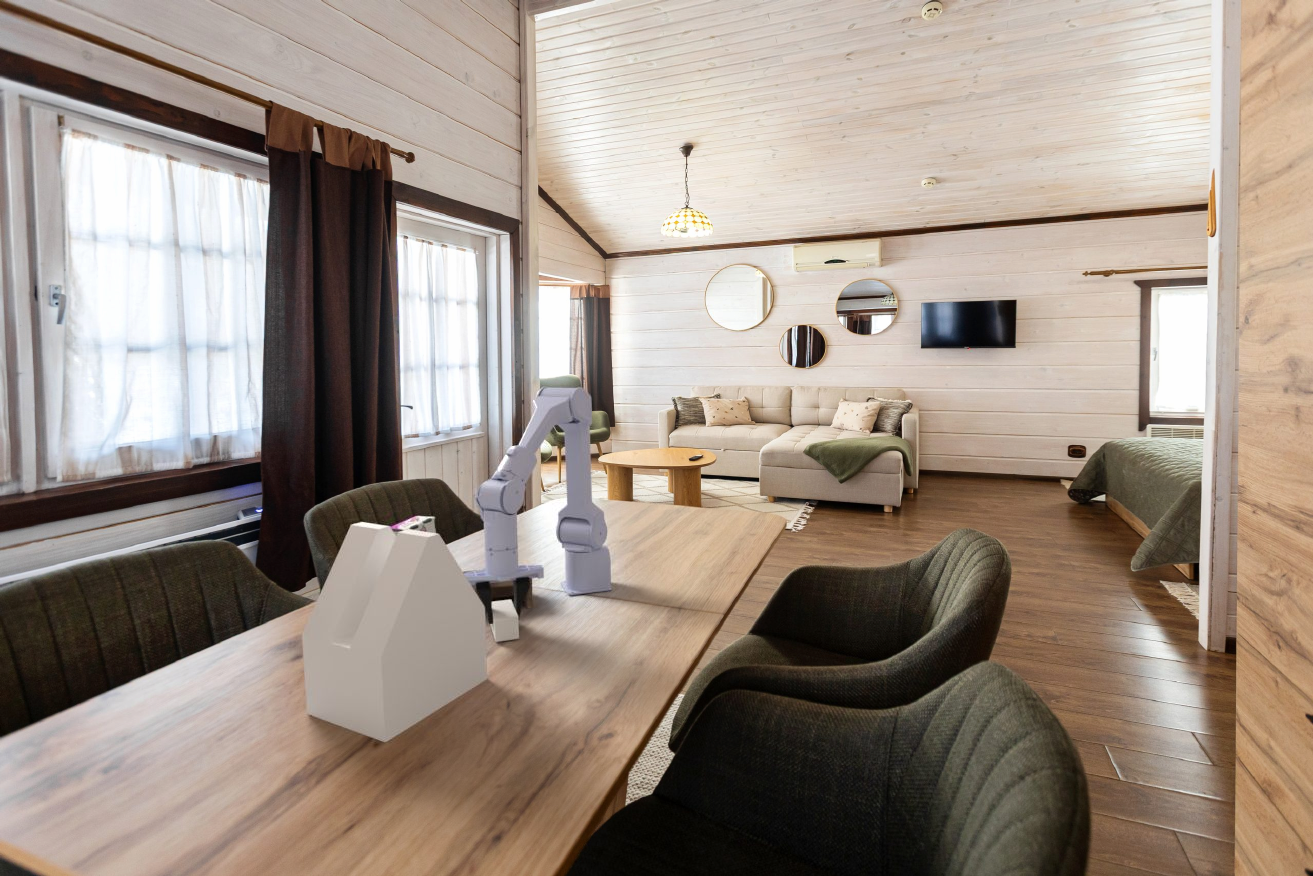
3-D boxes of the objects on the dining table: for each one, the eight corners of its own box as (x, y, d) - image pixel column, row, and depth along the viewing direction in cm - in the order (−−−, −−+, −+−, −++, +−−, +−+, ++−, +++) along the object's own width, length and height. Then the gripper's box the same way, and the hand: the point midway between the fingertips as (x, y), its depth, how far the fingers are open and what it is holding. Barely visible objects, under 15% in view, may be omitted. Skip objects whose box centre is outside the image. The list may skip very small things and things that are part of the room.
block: (511, 620, 125) (511, 599, 124) (518, 638, 116) (518, 616, 116) (489, 622, 123) (489, 602, 123) (495, 642, 115) (494, 619, 114)
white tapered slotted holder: (414, 659, 109) (407, 510, 106) (487, 679, 102) (482, 520, 99) (307, 714, 92) (295, 538, 89) (385, 743, 85) (375, 553, 82)
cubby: (525, 592, 140) (524, 565, 140) (532, 607, 132) (532, 577, 131) (456, 601, 135) (455, 572, 135) (459, 616, 127) (458, 586, 126)
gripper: (460, 557, 112) (463, 634, 113) (546, 548, 117) (547, 622, 118) (457, 546, 118) (460, 619, 120) (539, 538, 123) (540, 609, 125)
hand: (503, 620), depth 119 cm, fingers closed on block, 4 cm apart
